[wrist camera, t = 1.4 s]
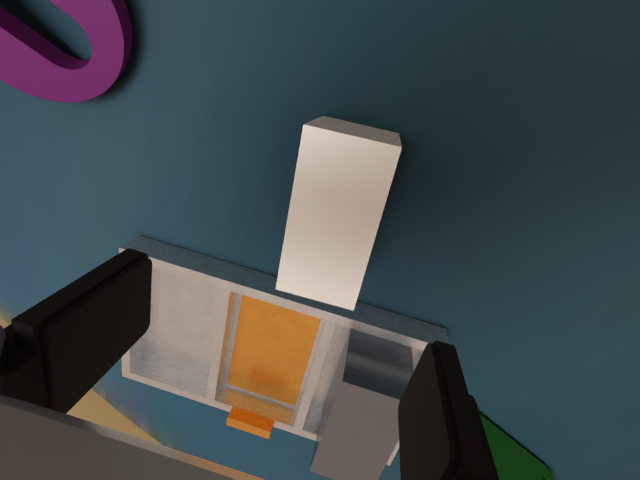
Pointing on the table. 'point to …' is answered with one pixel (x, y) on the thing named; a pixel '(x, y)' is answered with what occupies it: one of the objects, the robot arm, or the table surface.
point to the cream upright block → (336, 209)
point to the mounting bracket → (58, 67)
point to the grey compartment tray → (278, 358)
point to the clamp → (513, 457)
